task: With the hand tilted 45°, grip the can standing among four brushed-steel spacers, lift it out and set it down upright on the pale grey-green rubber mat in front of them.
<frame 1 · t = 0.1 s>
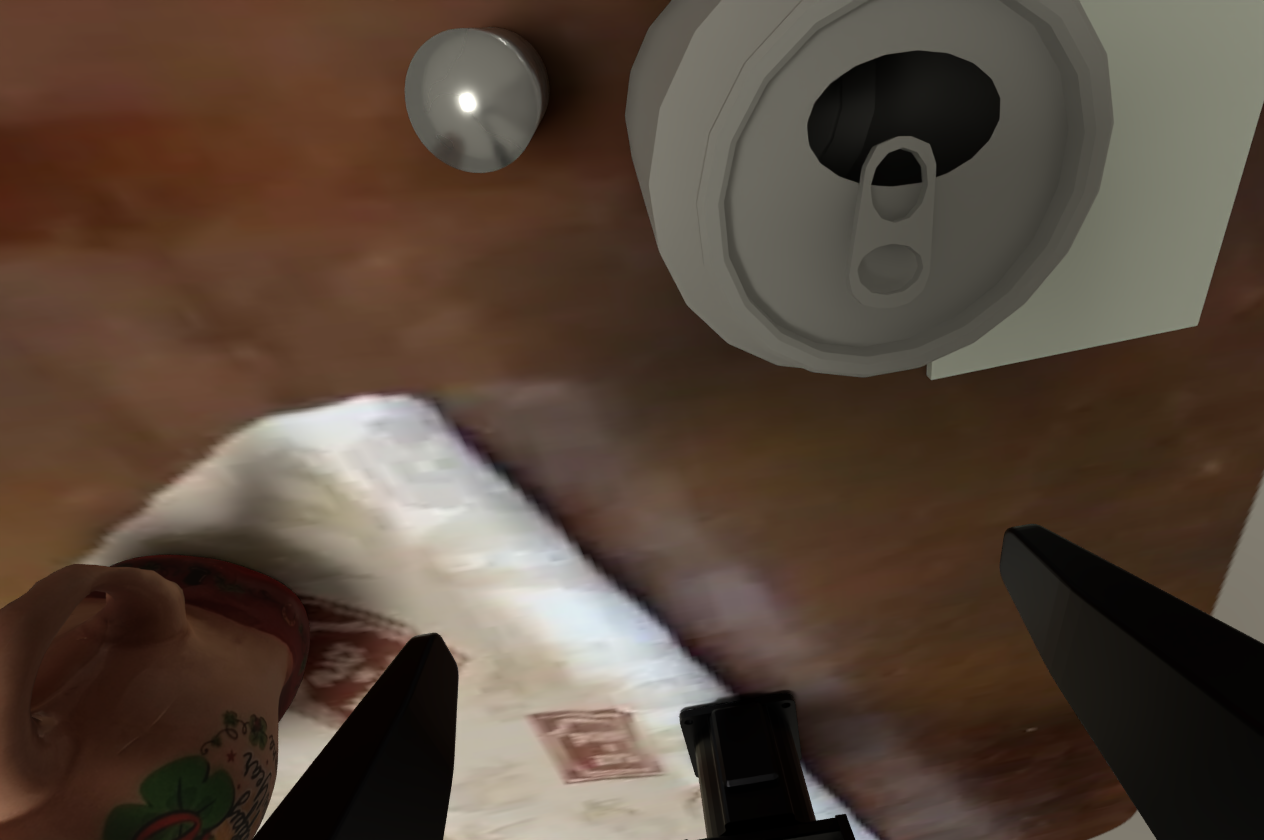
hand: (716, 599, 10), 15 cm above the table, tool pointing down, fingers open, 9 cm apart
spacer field: (744, 109, 20), on the table
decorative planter: (208, 592, 30), on the table
can: (743, 108, 20), on the table
mat: (1082, 192, 21), on the table
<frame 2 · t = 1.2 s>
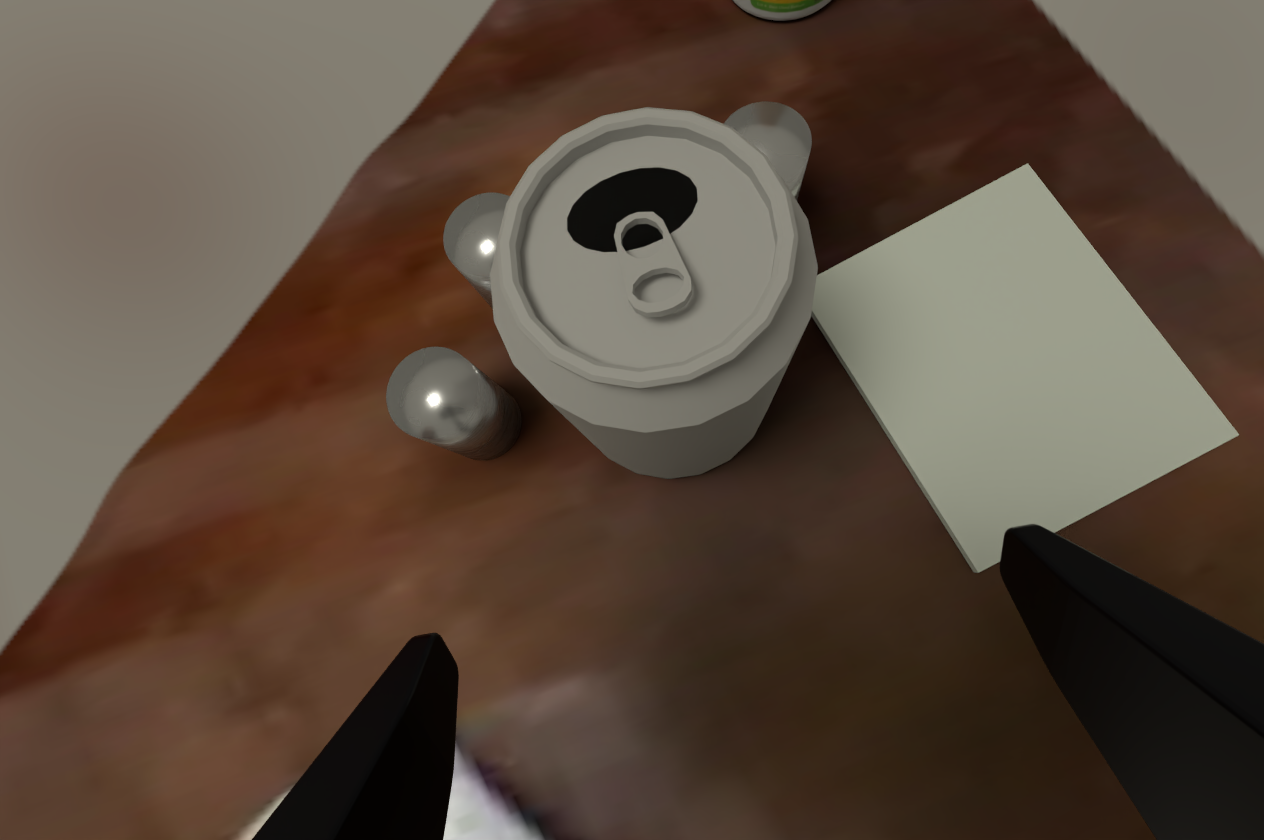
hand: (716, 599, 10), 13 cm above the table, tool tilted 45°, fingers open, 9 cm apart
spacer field: (671, 384, 24), on the table
can: (671, 385, 25), on the table
mat: (999, 359, 23), on the table
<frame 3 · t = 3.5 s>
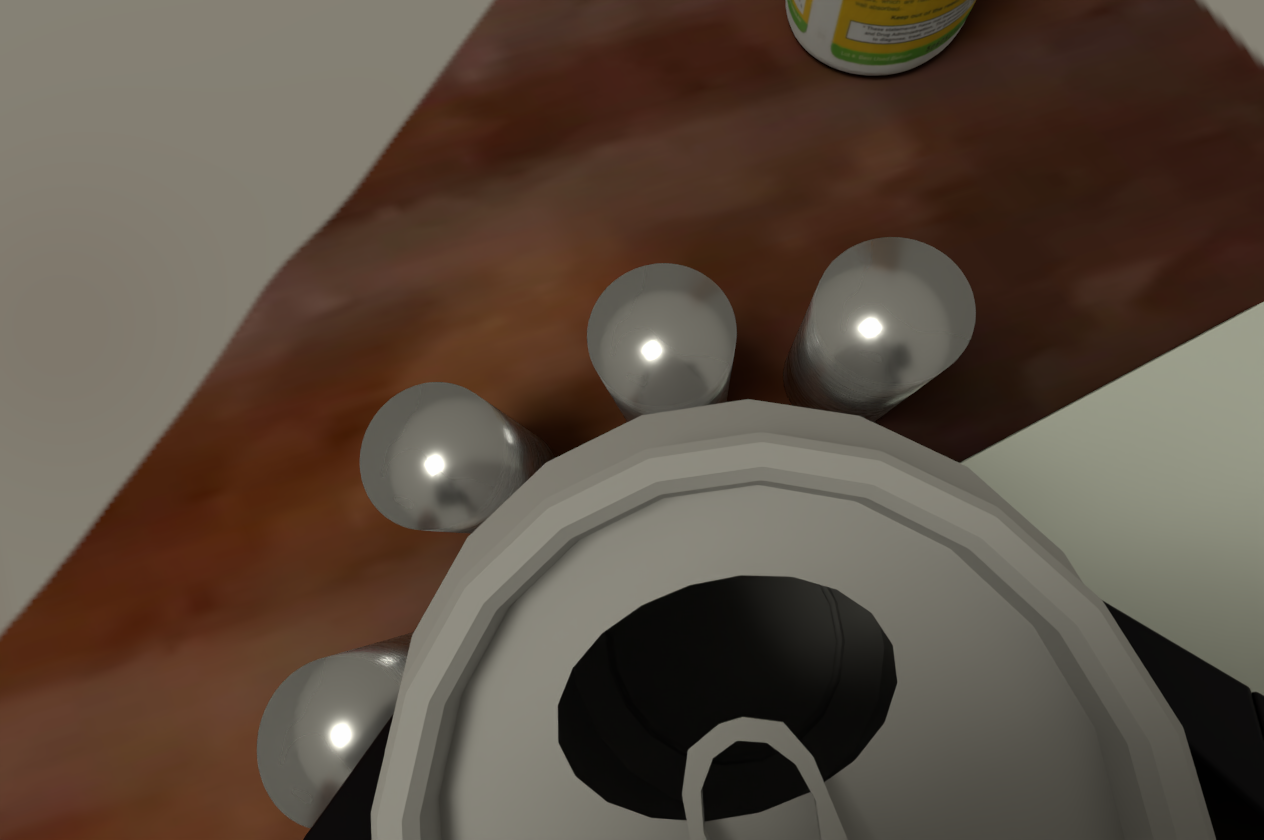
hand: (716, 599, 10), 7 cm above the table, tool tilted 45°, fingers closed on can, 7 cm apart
supplement bottle: (871, 11, 19), on the table
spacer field: (722, 635, 16), on the table
can: (721, 634, 16), on the table, touching gripper
mat: (1236, 615, 15), on the table
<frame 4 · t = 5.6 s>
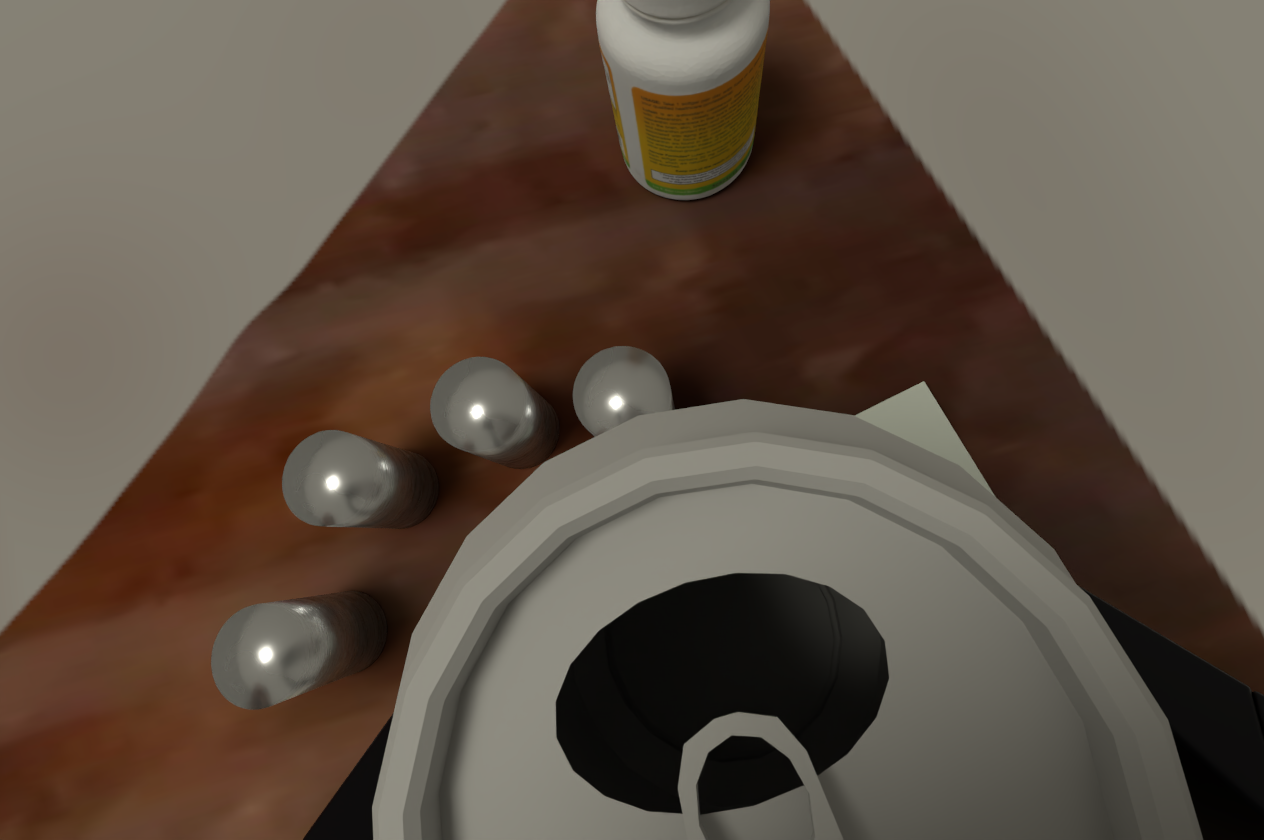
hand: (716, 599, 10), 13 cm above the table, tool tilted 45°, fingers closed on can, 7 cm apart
supplement bottle: (687, 147, 26), on the table
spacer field: (542, 602, 23), on the table
can: (720, 632, 16), point 6 cm above the table, touching gripper
mat: (882, 596, 22), on the table
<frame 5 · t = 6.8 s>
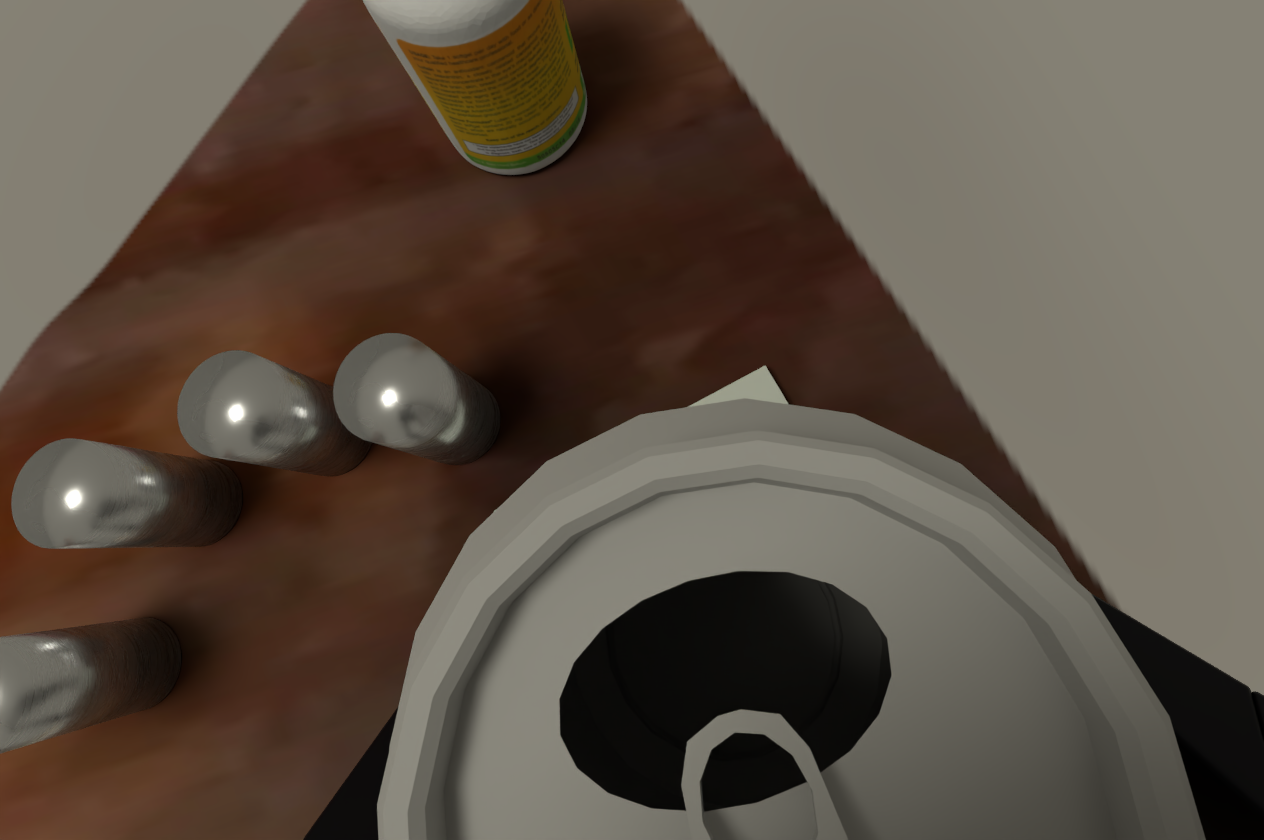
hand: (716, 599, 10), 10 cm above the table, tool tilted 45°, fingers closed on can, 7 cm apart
supplement bottle: (520, 118, 24), on the table
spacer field: (350, 624, 21), on the table
can: (721, 631, 16), point 3 cm above the table, touching gripper
mat: (719, 608, 20), on the table
when the fingers open (8 cm above the table, at t = 7.9 s): can stays where it is, resting on mat.
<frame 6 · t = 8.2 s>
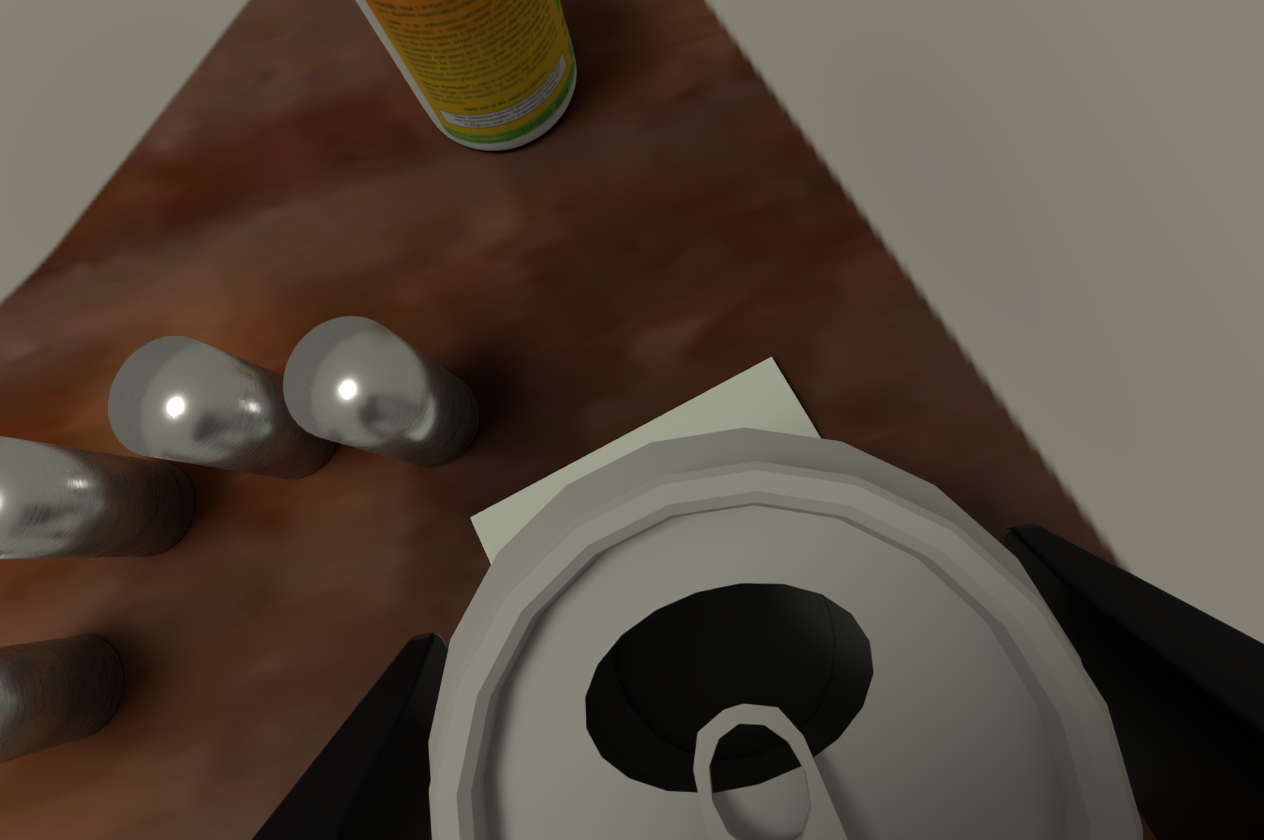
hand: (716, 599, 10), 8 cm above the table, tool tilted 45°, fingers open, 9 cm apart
supplement bottle: (504, 90, 22), on the table
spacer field: (310, 643, 19), on the table
can: (720, 636, 17), resting on mat
mat: (720, 627, 18), on the table
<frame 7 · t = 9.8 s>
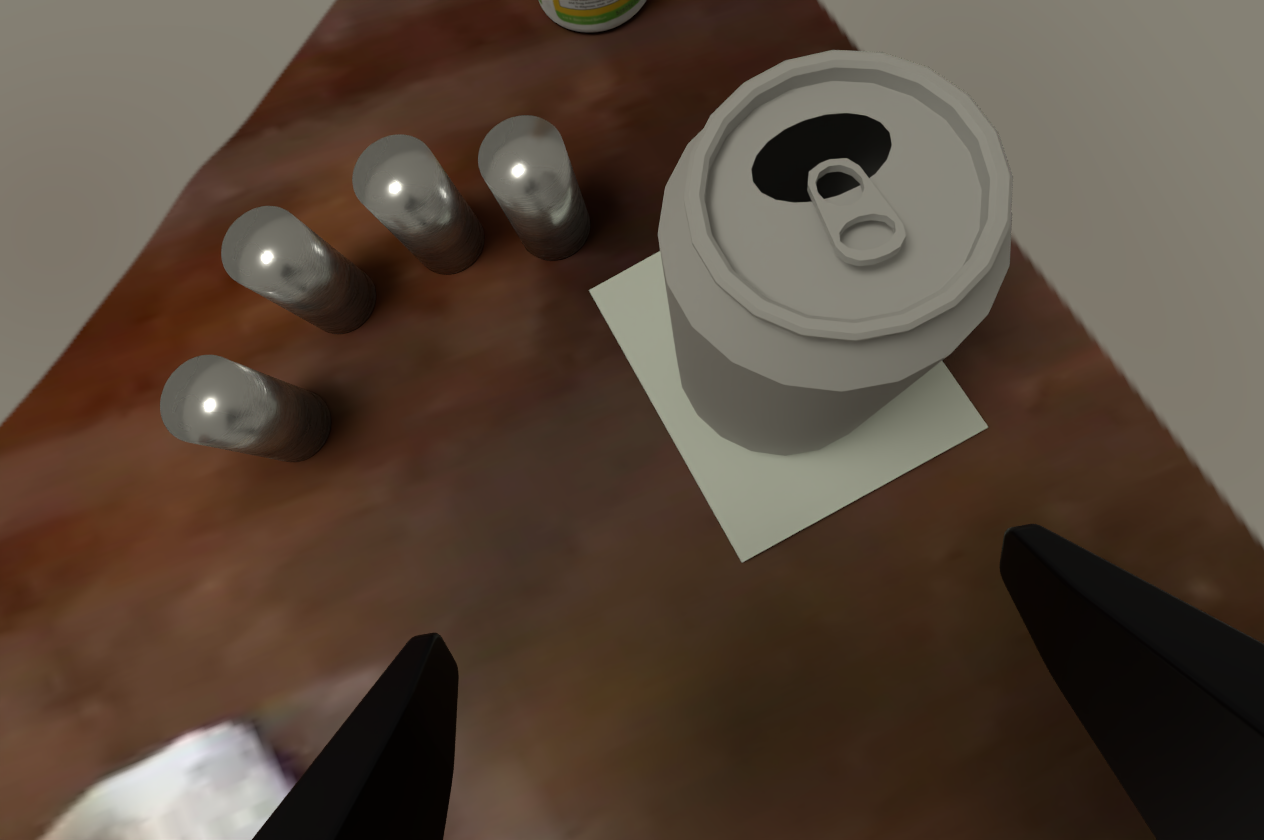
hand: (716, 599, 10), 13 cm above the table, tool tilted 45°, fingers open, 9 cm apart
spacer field: (471, 386, 25), on the table
can: (776, 361, 24), resting on mat
mat: (776, 357, 24), on the table
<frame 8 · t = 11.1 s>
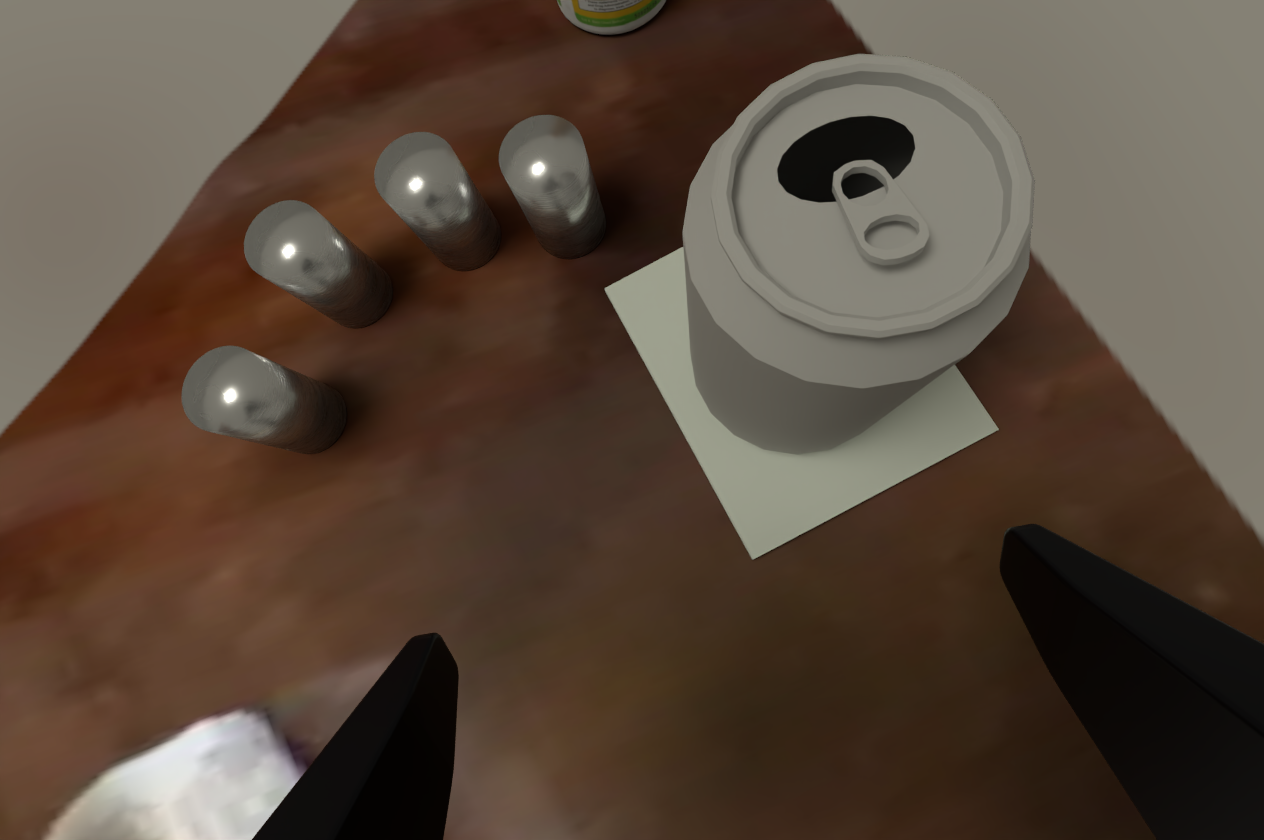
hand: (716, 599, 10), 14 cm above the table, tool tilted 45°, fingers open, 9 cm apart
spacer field: (486, 381, 26), on the table
can: (789, 361, 24), resting on mat
mat: (788, 358, 24), on the table
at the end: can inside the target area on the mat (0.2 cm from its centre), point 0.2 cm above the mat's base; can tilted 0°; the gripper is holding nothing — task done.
